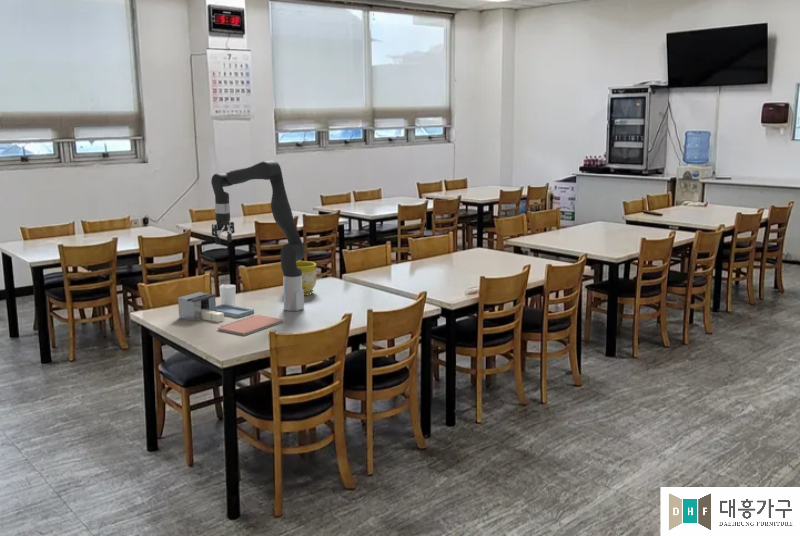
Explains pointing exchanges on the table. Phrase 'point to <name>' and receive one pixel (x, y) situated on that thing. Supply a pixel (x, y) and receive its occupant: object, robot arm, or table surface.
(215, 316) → the cream rectangular block
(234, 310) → the tray
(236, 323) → the notebook
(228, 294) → the white cup
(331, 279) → the table surface
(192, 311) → the dispenser
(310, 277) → the flowerpot
